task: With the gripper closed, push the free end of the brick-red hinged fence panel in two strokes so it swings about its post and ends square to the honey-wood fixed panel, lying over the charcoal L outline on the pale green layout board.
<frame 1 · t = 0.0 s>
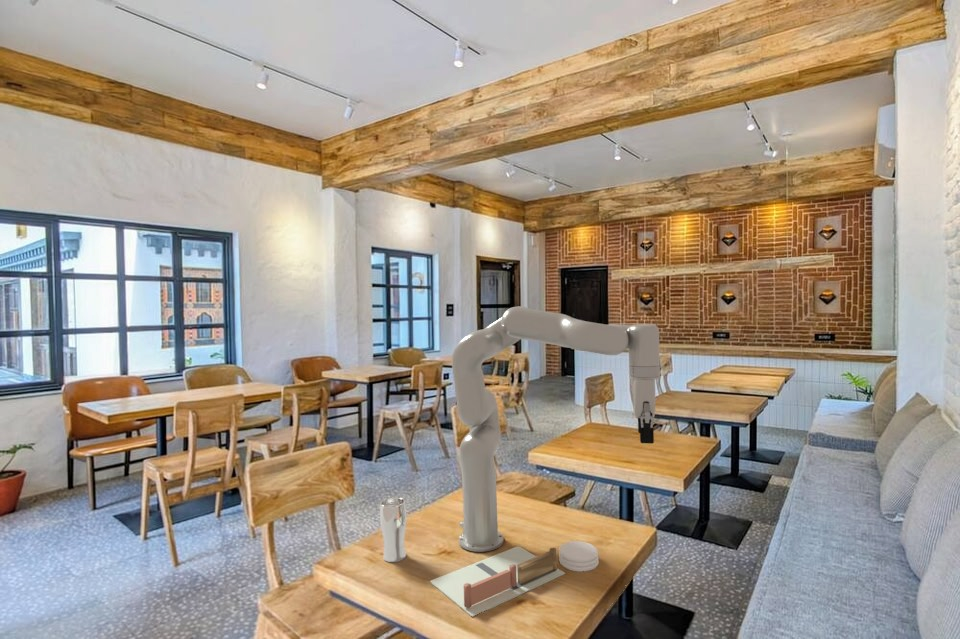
hand: (645, 437, 135), 31 cm above the table, tool pointing down, fingers open, 9 cm apart
white short round cylinder: (578, 563, 134), on the table
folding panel: (491, 585, 119), point 3 cm above the table, hinge at 0.0°
layout board: (497, 578, 128), on the table
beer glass: (394, 557, 140), on the table
fixed panel: (536, 577, 127), resting on layout board
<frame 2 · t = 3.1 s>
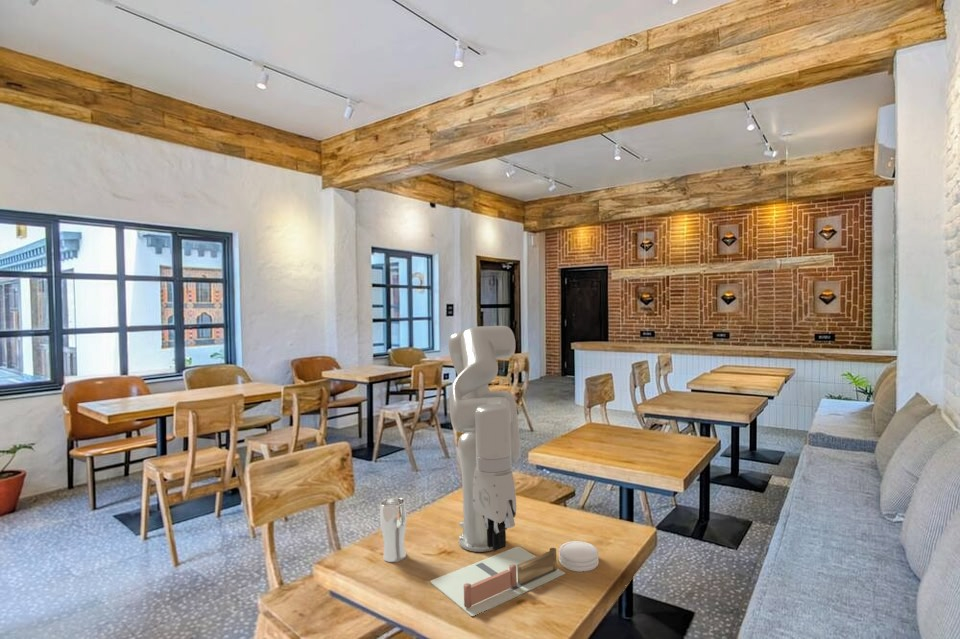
hand: (496, 546, 112), 15 cm above the table, tool pointing down, fingers closed
nothing on the table moved.
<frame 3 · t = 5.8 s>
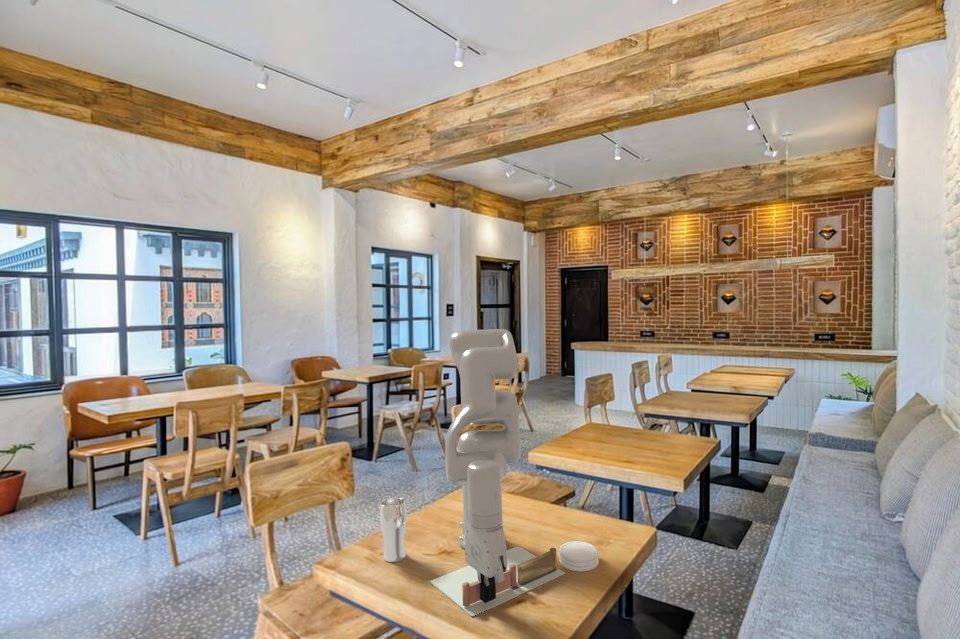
hand: (488, 599, 115), 2 cm above the table, tool pointing down, fingers closed
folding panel: (490, 584, 119), point 3 cm above the table, hinge at 2.5°, touching gripper
everything else where it was.
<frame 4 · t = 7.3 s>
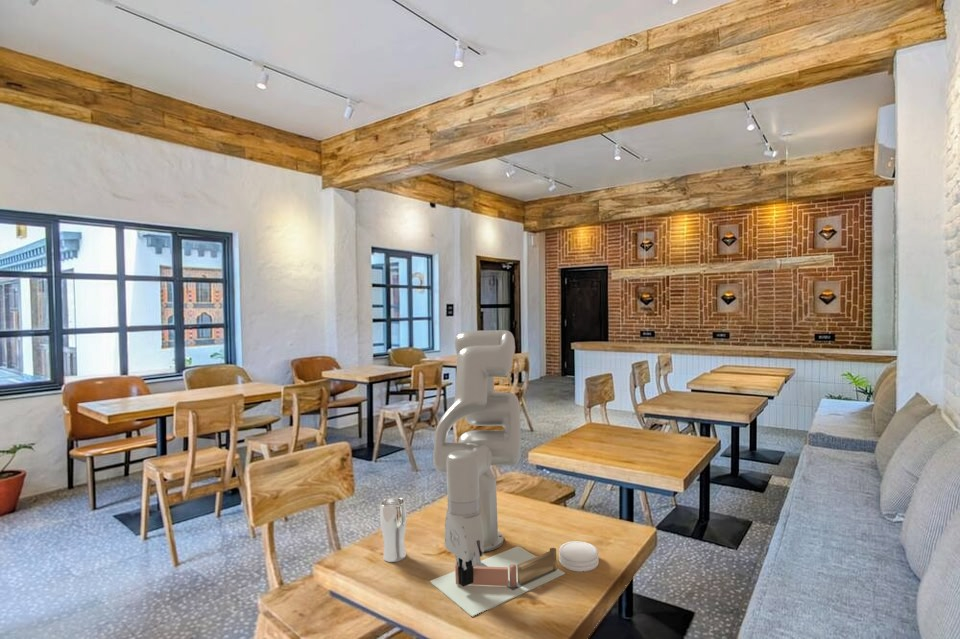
hand: (466, 583, 121), 2 cm above the table, tool pointing down, fingers closed
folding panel: (485, 574, 123), point 3 cm above the table, hinge at 43.4°, touching gripper
everything else where it was.
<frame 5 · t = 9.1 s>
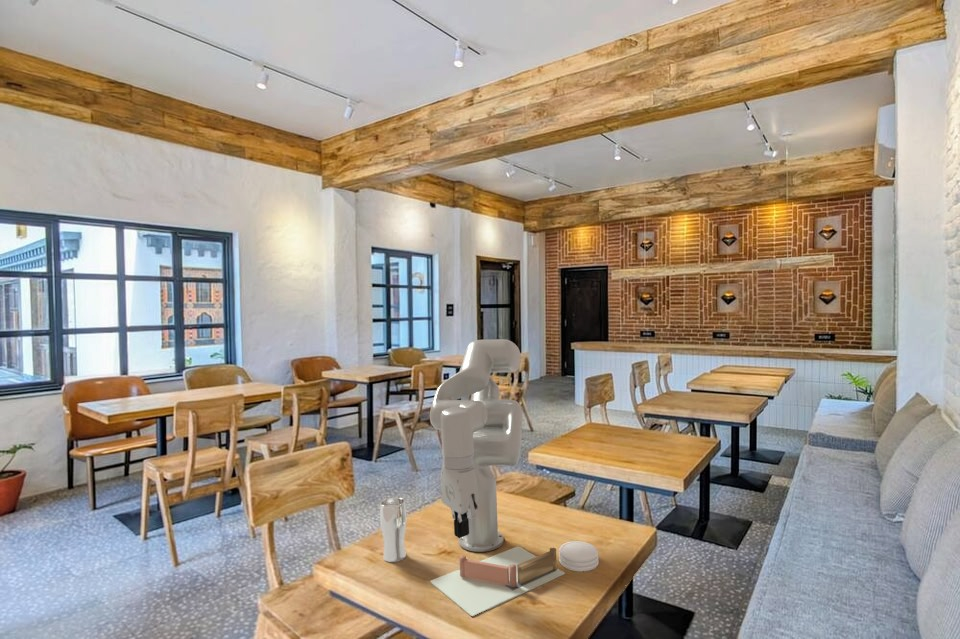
hand: (461, 535, 124), 12 cm above the table, tool pointing down, fingers closed
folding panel: (487, 570, 125), point 3 cm above the table, hinge at 58.7°
everything else where it was.
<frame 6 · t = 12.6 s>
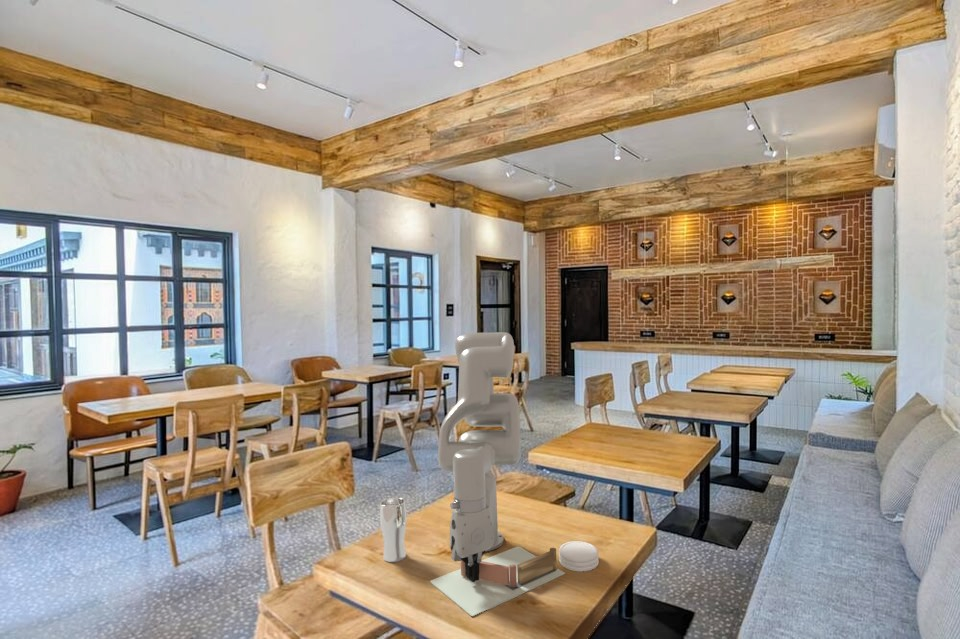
hand: (472, 578, 124), 2 cm above the table, tool pointing down, fingers closed
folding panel: (487, 570, 125), point 3 cm above the table, hinge at 61.3°, touching gripper
everything else where it was.
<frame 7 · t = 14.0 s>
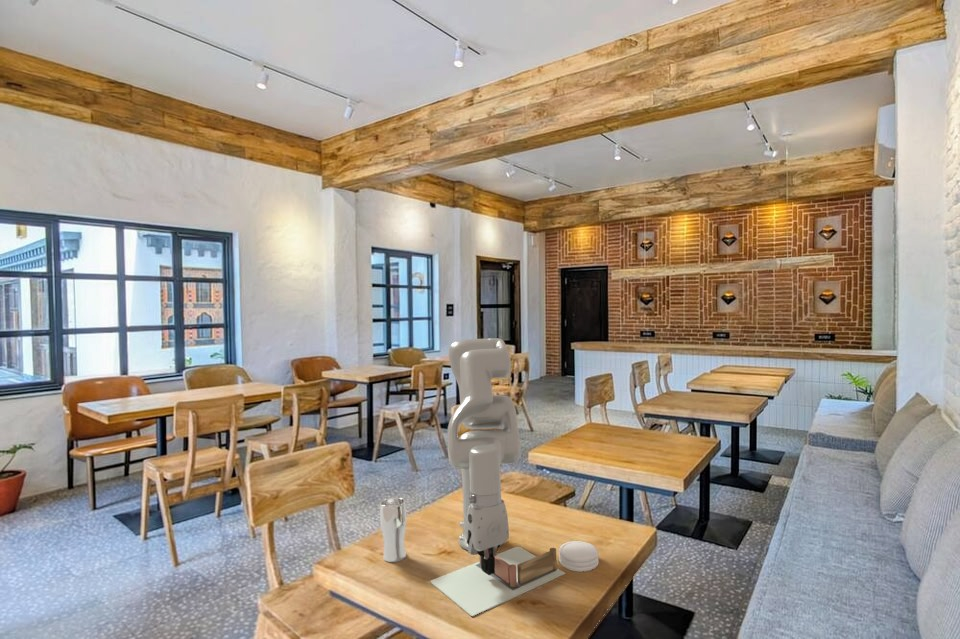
hand: (488, 572, 127), 2 cm above the table, tool pointing down, fingers closed
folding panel: (497, 564, 128), point 3 cm above the table, hinge at 92.6°, touching gripper
everything else where it was.
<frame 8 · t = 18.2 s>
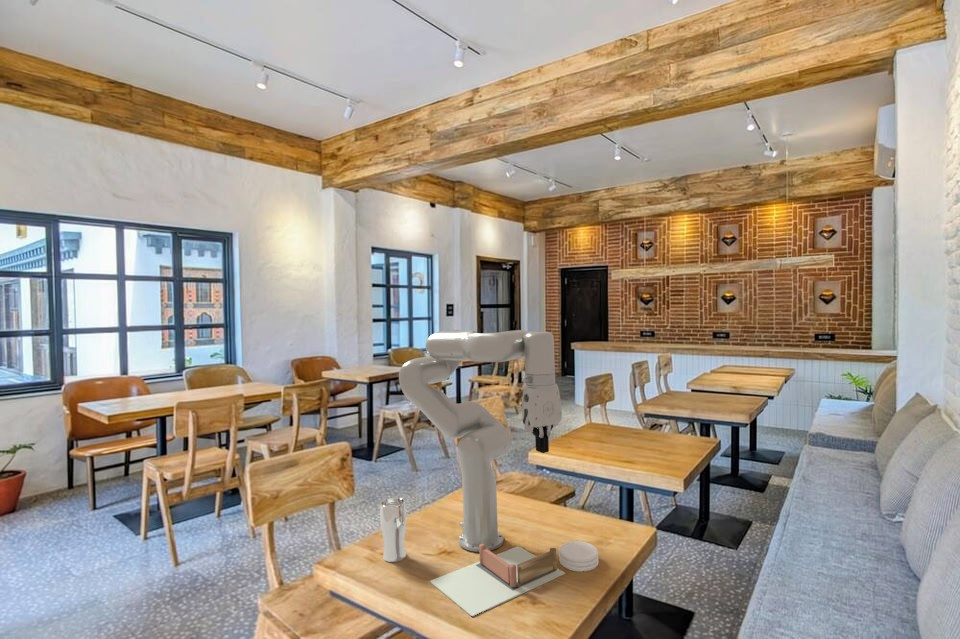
hand: (542, 451, 133), 29 cm above the table, tool pointing down, fingers closed
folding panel: (497, 564, 128), point 3 cm above the table, hinge at 92.8°
everything else where it was.
at the end: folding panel at +93° (first picture: +0°); the gripper is holding nothing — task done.
